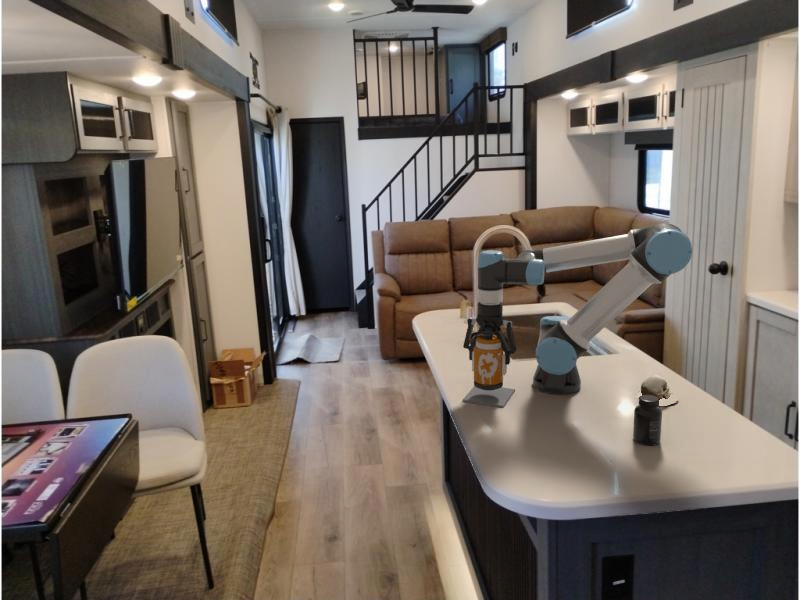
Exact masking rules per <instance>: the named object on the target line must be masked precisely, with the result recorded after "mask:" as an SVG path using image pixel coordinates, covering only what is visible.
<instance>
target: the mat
mask: <svg viewBox="0 0 800 600" xmlns="http://www.w3.org/2000/svg"><path fill="white" fill-rule="evenodd" d="M515 392H516V388H509V387H503V386H502V387H501V388H499V389H496V390H482V389H479V388H477V387H475V386H474V385H473V386H472V388H471V389H470V390H469V392H468V393H467V394H466V395H465V396H464V397H463V399H462V402H463V403H470V404H475V405H476V404H477V405H483V406H489V407H496V408H505V406H506V405H507V404H508V402H509V401H510V399H511V397H512V396H513V395H514V393H515Z"/></svg>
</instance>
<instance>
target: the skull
mask: <svg viewBox="0 0 800 600" xmlns="http://www.w3.org/2000/svg"><path fill="white" fill-rule="evenodd" d="M640 391H641V393H642V395H652V396H655V397H657V398H658V399H659V400H660V399H662V398H665V399H668V398H669V397H670V395H671V393H672V392H671V391H670V386H669V385H668V382H667V381H666V378H664V377H662V376H660V375H657V374H655V375H650V376H648V377H647V378H646V379H645V380H643V381H642V382H641V386H640Z"/></svg>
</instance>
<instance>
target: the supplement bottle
mask: <svg viewBox="0 0 800 600" xmlns="http://www.w3.org/2000/svg"><path fill="white" fill-rule="evenodd" d="M658 406H659V399H658V398H657V397H655V396H652V395H642V396H640V397H639V399H638V405H637V406H636V407H635V408H634V411H633V413H634V414H633V428H632V430H633V431H632V434H633V435H632V439H633V440H634V441H635V442H636V443H637V442H638V444H640V445H643V444H644V446H655V445H654V444H656V445H659V443H660V442H661V435H662V421H663V420H662V418H663V411H662V410H661V408H660V407H658Z"/></svg>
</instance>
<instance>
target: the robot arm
mask: <svg viewBox="0 0 800 600" xmlns="http://www.w3.org/2000/svg"><path fill="white" fill-rule="evenodd" d="M692 255H693V246H692V241H691V240H690V238H689V237H688V235H686V233H685V232H684V231H682V229H680V228H679V227H678V226H677V225H674V224H671V223H665V222H662V223H657V224H651V225H649V226H644V227H641V228H634V229H630V230H629V232H628V233H627V234H626V233H624V234H621V235H620V234H619V235H614V236H611V237H610V236H609V237H603V238H598V239H593V240H586V241H585V240H584V241H580V242H575V243H568V244H562V245H557V246H551V247H545V248H541V249H525V250H523V251H522V252H520V253H519V254H518V256H517V258H507V257H505V256H504V252H503V251H501V250H490V249H487V250H484V251H481V252H480V253H479V254H478V257H477V258H478V262H477V301H478V302H477V315H476V317H473V316H470V317H468V319H467V322H466V323H467V328H466V333H465V338H464V341H463V348H464V349H467V350H468V352H469V354H468V355H469V356H468V359H469V361H471V372H474V347H475V346H476V339H477V337H480V336H481V335H480V334H482V333H483V331H485V326H486V327H492V328H493V329H492V331H493V333H494V335H496V336H497V338H498V339H500V342H501V346H502V349H503V359H502V375H503V376H505V375H507V372H508V370H507V369H508V367H507V366H508V365H510V363H511V355H514V354H515V353H516V352H517V345H516V340H515V335H514V332H513V331H514V329H513V324H514V321H513V320H505V319H504V317H503V312H504V311H503V310H504V308H503V306H504V305H503V299H504V298H503V297H504V294H503V293H504V284H511V285H512V284H513V285H529V286H535V285H540V286H541V285H542V284H544V281H545V273H551V272H559V271H563V270H571V269H577V268H582V267H583V268H585V267H590V266H595V265H603V264H609V263H614V262H620V261H621V262H622V261H627V260H629V262H628V263H627V264H626V265H624V267H623V268H622V269H621V270H619V272H618V273H617V274H615V275H614V276H613V277H612V278H611V279H610V280H608V282H606V283H605V285H604V286H602V288H601V289H599V291H597V292H596V293H595V294H594V295H593V296H592V297H591V298H590V299H589V300H588V301H587V302H586V303H584V305H582V306H581V308H579V309H578V310H577V311H576V312H575V313H574V314H573V315H572V316H571V317H570V316H561V315H548V316H543V317H541V318H540V320H539V321H540V323H539V338H538V342H537V345H536V348H535V359H536V362H537V366H536V369H535V372H534V375H533V377H532V385H533V387H534V388H535V389H537V390H538V391H540V392H543V393H547V394H553V395H567V394H573V393H576V392H578V391H580V390H581V387H582V386H581V385H582V380H581V376H580V373H579V369H578V366H577V361H578V359H579V358H581V357H582V356H583V355H584V354H585V353H586V352H587V351H589V349H590V342H591V340H593V338H594V337H596V336H597V335H598V334H599V333H600V332H602V330H603V329H604V328H606V327H607V326H608V325H609V324H610V323H611V322H612V321H613V320H614V319H615V318H617V317H618V315H620V314H621V313H622V312H623V311H624V310H625V309H627V308H628V307H629V306H630V305H632V303H633V302H634V301H636V300H637V298H639V296H641V295H642V294H643V293H644V292H645V291H646V290H647V289H648V288H650V286H651V285H654V284H662V283H663V282H664V281H666V280H667V279H668V278H669V277H670V276H671V275H674V274H677V273H679V272H680V271H682V270H683V269H685V267H687V265H688V264H689V263H690V262H691V259H692V257H693V256H692ZM476 323H477V324H478V326H479V328H478V330H477V332H476V334H475V336H474V338H473V340H472V334H473V332H474V327H475V324H476ZM502 325H503V326H504V328H505V330H506V337H507V340H508V342H507V340H506V338H505V335H504V333H503V330H502V328H501V326H502ZM483 334H484V333H483ZM483 334H482V335H483ZM477 335H479V336H477ZM471 340H472V342H471Z"/></svg>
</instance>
